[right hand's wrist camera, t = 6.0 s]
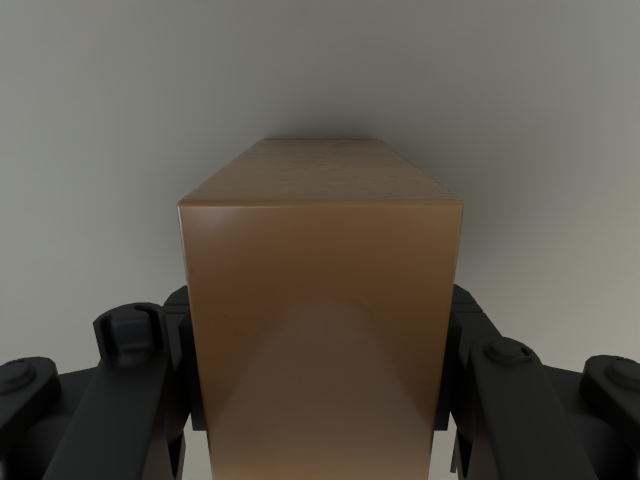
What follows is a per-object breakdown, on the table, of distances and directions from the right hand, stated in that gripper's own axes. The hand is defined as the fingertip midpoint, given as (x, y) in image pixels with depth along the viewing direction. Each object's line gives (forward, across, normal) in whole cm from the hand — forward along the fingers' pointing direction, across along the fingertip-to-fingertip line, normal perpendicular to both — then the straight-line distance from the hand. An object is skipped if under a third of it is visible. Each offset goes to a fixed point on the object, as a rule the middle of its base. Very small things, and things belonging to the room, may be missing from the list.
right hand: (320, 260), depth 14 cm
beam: (+1, 0, -23) cm, 23 cm away
